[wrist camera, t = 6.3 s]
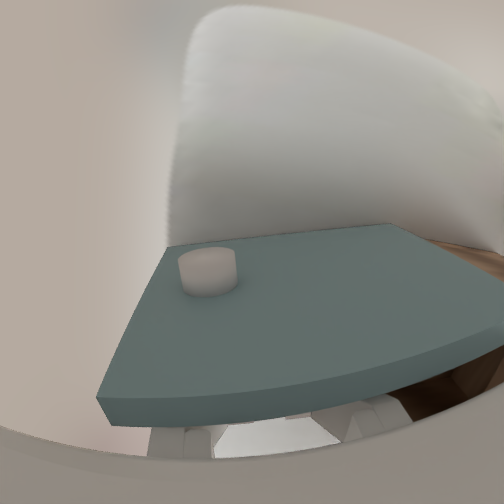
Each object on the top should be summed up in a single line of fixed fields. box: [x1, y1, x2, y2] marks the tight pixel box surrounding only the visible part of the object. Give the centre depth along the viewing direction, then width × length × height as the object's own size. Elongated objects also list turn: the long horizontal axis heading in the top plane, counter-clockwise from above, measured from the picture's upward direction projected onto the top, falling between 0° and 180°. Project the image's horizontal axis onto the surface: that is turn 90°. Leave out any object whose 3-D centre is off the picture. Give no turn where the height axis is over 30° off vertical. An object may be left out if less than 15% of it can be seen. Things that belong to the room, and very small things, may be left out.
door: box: [96, 224, 504, 427], centre depth 11 cm, size 2×13×11 cm, turn 95°
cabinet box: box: [385, 239, 504, 422], centre depth 15 cm, size 12×13×12 cm
